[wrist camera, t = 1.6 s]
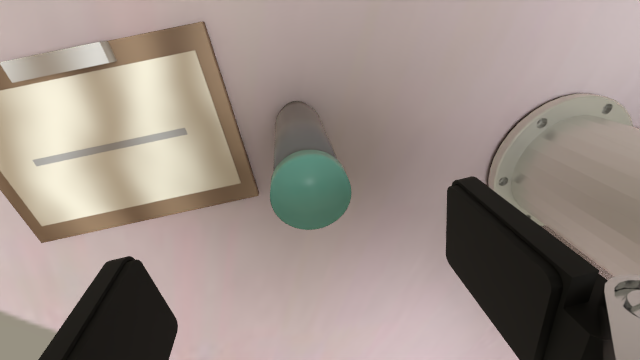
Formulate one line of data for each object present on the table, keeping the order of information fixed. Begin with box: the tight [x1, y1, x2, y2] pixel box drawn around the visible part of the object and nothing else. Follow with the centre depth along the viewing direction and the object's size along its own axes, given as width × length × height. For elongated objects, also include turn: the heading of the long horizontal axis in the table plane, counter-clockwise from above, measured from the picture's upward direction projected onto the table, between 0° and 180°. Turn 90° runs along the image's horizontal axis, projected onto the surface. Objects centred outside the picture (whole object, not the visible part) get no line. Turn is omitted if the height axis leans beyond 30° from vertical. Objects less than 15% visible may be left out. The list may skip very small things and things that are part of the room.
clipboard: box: [0, 22, 259, 243], centre depth 22 cm, size 18×13×2 cm
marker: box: [270, 101, 351, 230], centre depth 18 cm, size 3×3×12 cm
